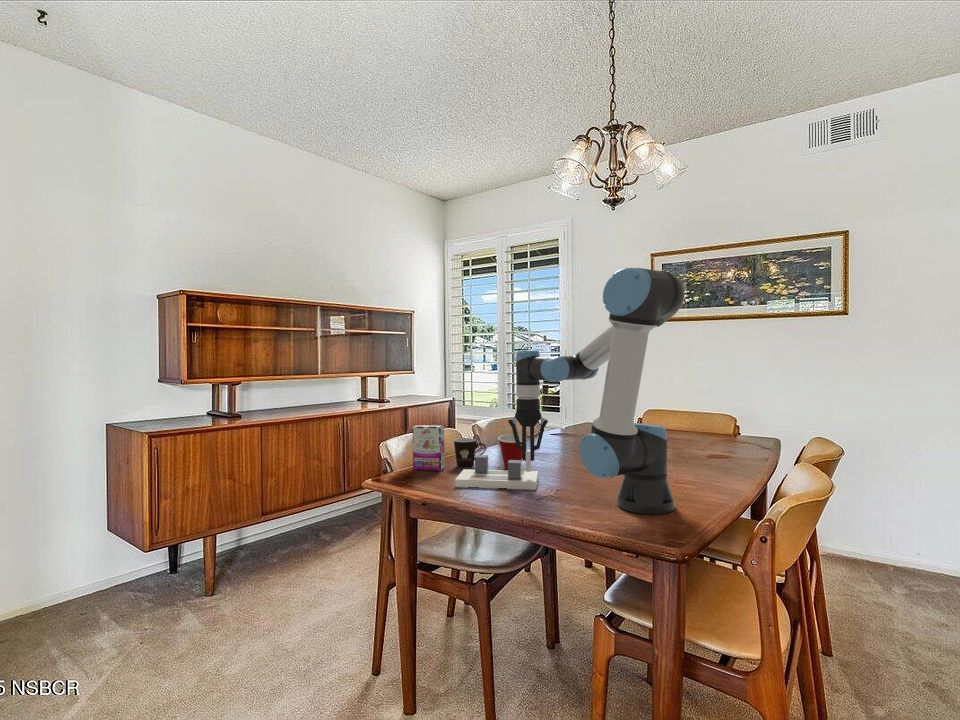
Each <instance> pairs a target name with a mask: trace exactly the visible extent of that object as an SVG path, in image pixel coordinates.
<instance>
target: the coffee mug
mask: <svg viewBox="0 0 960 720" xmlns="http://www.w3.org/2000/svg"><path fill="white" fill-rule="evenodd" d="M453 444H454V453H455V461H456V467H457V466H458V467H457V468H459V467H471V468H473V467H475V456H476V449H477V448H478V447H479V446H480V445H481V446H483V447H484V449H483V451H482V452H481V453H480V454H479V455H484V453H485V452H486V451H487V446H486V444H485V443H477V439H476V438H470V437H469V438H468V437H467V438H465V437H461V438H455V439H454V440H453ZM472 466H473V467H472Z"/></svg>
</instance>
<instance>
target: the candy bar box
mask: <svg viewBox="0 0 960 720" xmlns="http://www.w3.org/2000/svg"><path fill="white" fill-rule="evenodd" d="M411 429H412V467H413V471H425V470H433V471H432V472H442V471H443V470H445V469H444V468H446V462H445V460H446V459H445V457H446V456H445V455H446V454H445V426H444V425H437V424H434V425H433V424H431V425H430V424H422V425H421V424H416V425H414V426H412V428H411ZM441 470H442V471H441Z"/></svg>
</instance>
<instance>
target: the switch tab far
mask: <svg viewBox="0 0 960 720" xmlns="http://www.w3.org/2000/svg"><path fill="white" fill-rule="evenodd" d="M474 470H475V472H487V471H488V470H489V454H482V455H480V454H475V460H474Z"/></svg>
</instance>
